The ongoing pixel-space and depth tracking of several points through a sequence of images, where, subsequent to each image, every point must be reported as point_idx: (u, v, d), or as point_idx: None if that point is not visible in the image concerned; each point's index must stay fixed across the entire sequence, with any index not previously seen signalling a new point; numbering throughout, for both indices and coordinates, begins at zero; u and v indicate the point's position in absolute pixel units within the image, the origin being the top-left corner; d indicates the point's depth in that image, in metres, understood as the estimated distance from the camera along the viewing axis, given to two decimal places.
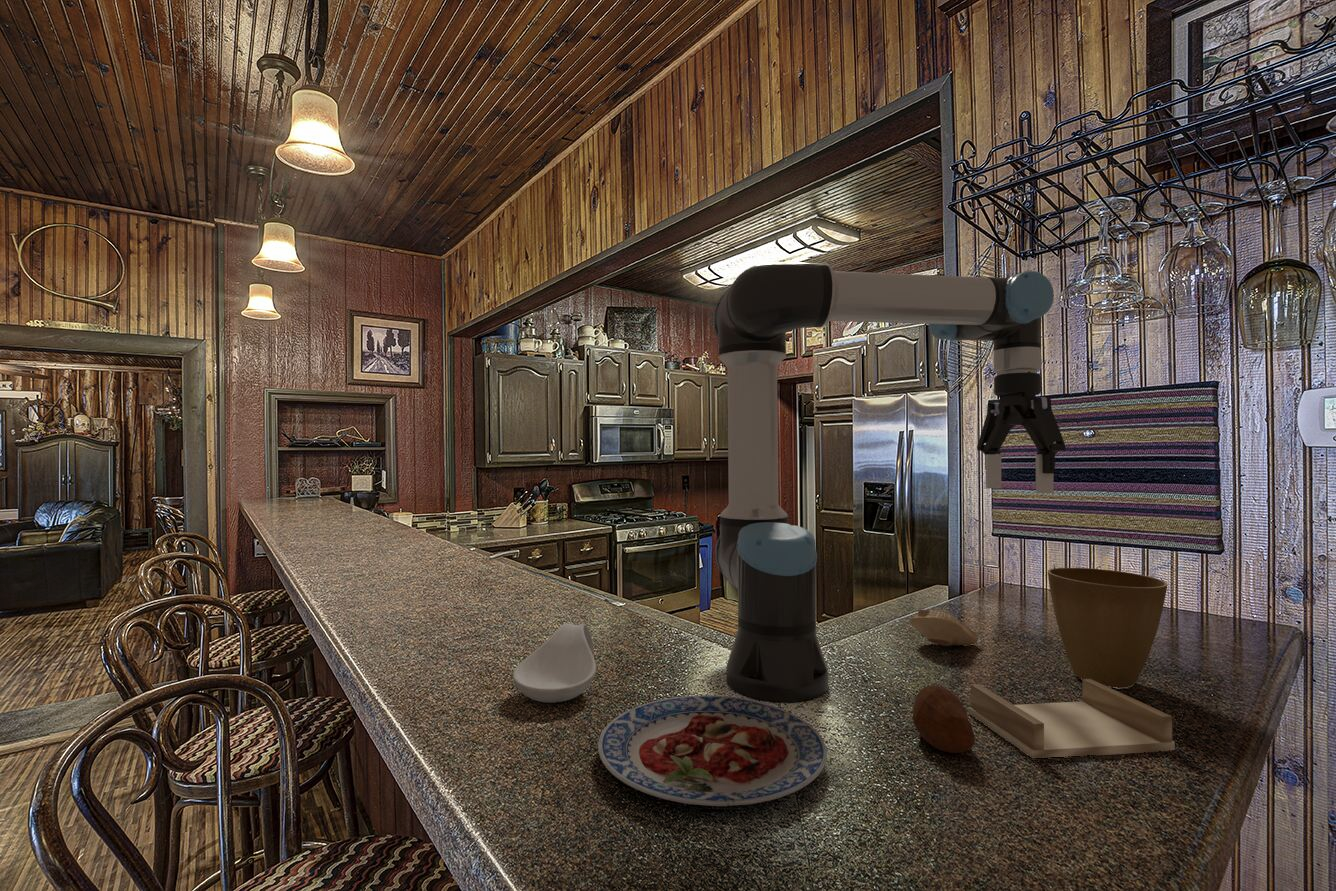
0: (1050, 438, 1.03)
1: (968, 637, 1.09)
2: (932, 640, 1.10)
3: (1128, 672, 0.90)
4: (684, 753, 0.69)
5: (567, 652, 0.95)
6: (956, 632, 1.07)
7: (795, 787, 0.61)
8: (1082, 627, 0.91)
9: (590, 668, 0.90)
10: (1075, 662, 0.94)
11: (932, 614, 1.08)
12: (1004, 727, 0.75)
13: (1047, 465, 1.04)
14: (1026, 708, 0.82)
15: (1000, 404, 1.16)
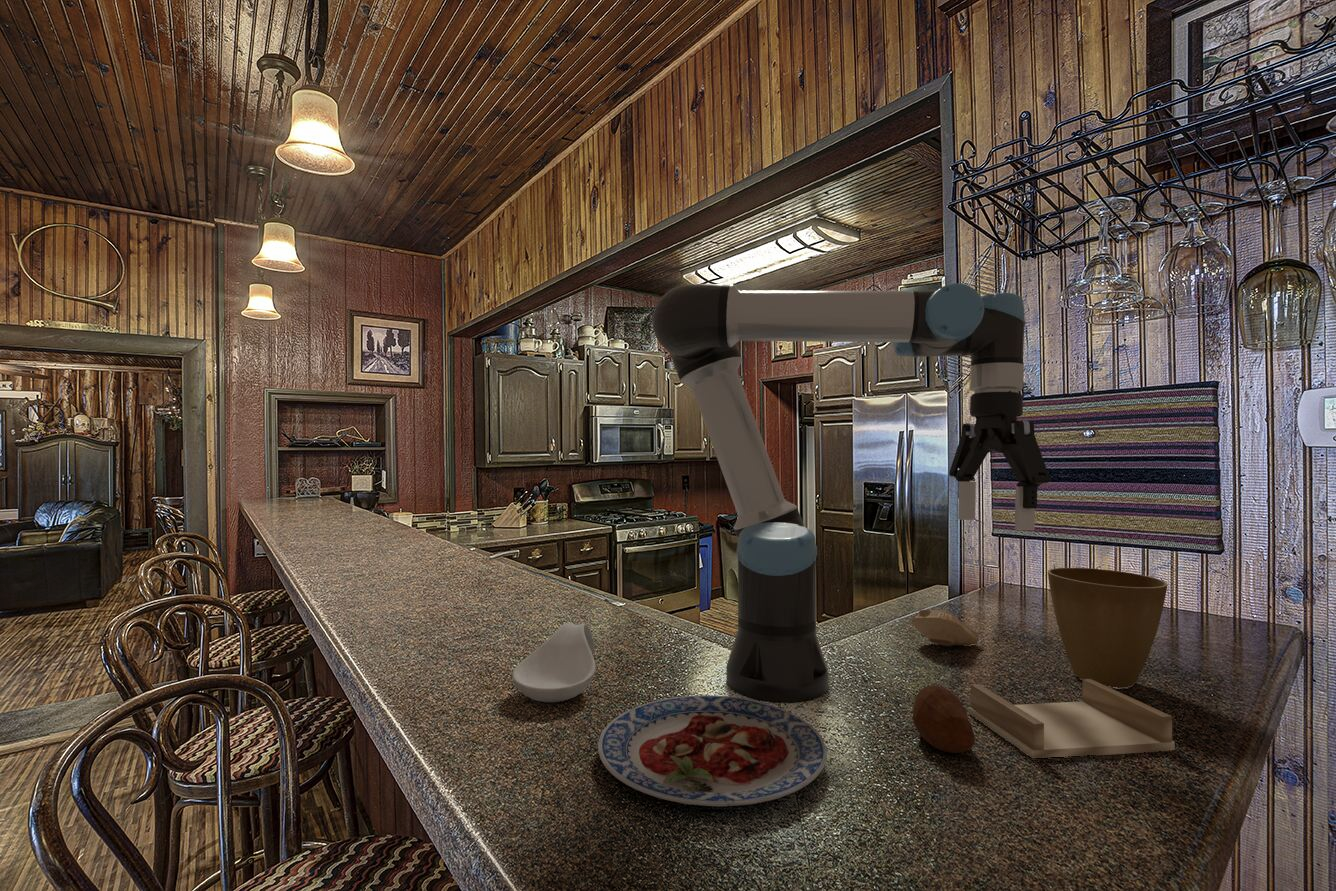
0: (1033, 468, 0.90)
1: (969, 637, 1.09)
2: (933, 640, 1.10)
3: (1128, 672, 0.90)
4: (684, 753, 0.69)
5: (567, 652, 0.95)
6: (957, 632, 1.07)
7: (795, 787, 0.61)
8: (1083, 627, 0.91)
9: (589, 668, 0.90)
10: (1075, 662, 0.94)
11: (934, 614, 1.08)
12: (1004, 727, 0.75)
13: (1028, 499, 0.91)
14: (1026, 708, 0.82)
15: (976, 426, 1.02)
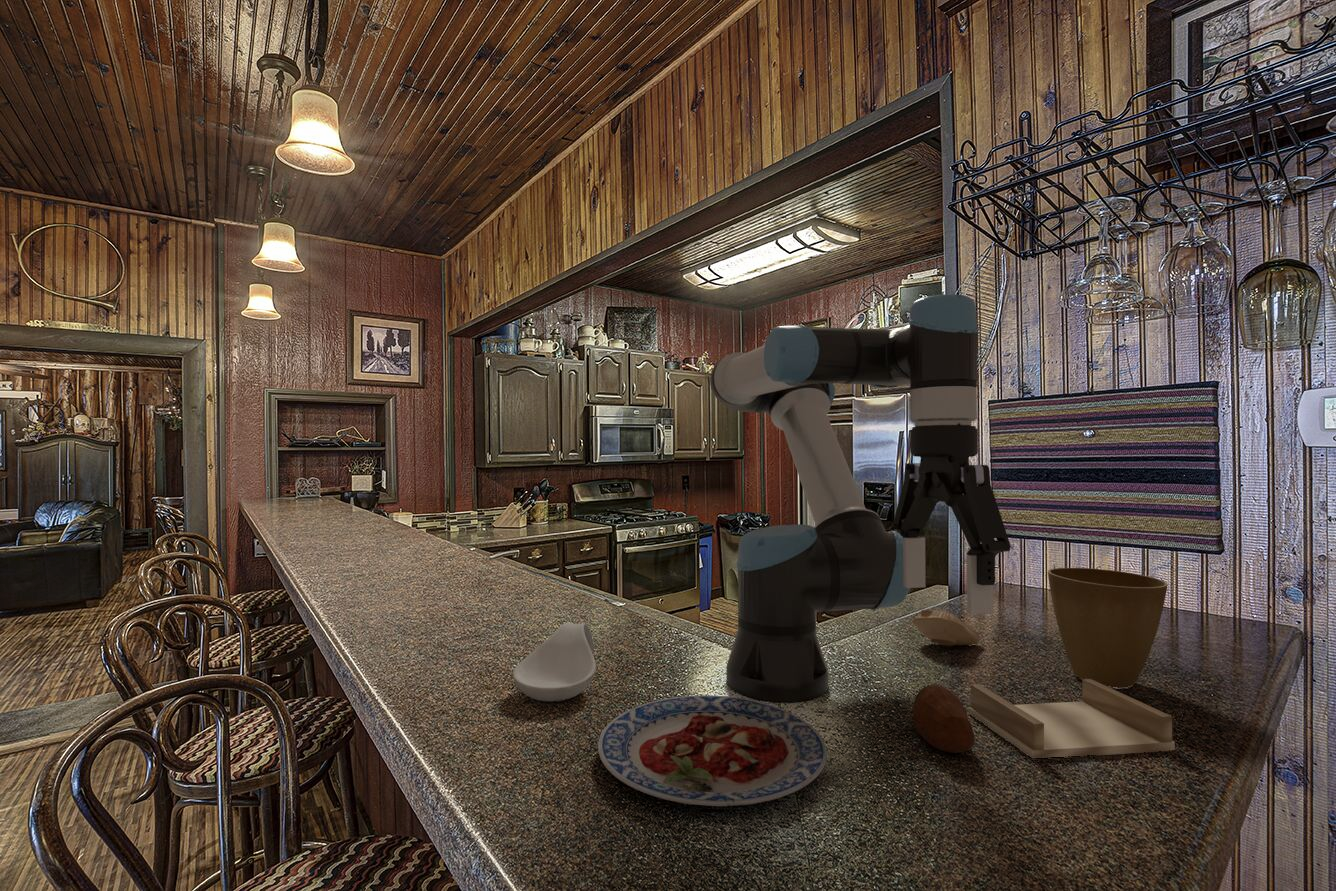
0: (987, 532, 0.66)
1: (970, 637, 1.09)
2: (935, 640, 1.10)
3: (1128, 672, 0.90)
4: (684, 753, 0.69)
5: (567, 651, 0.96)
6: (959, 632, 1.07)
7: (795, 786, 0.61)
8: (1083, 627, 0.91)
9: (590, 667, 0.91)
10: (1075, 662, 0.94)
11: (935, 614, 1.08)
12: (1004, 727, 0.75)
13: (983, 573, 0.67)
14: (1026, 708, 0.82)
15: (921, 468, 0.78)
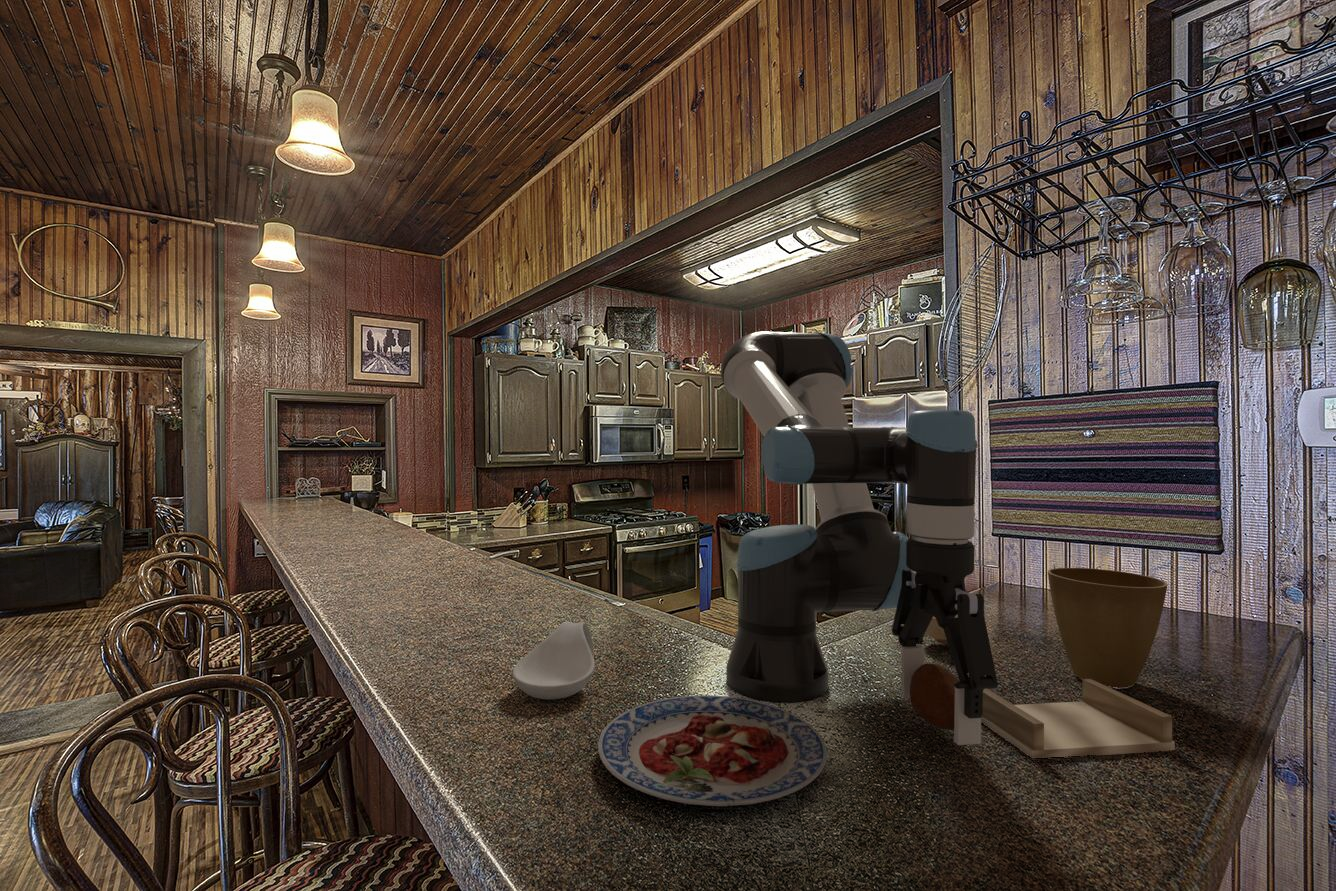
0: (975, 670, 0.66)
1: None
2: (939, 641, 1.10)
3: (1128, 672, 0.90)
4: (684, 753, 0.69)
5: (566, 650, 0.96)
6: None
7: (795, 786, 0.61)
8: (1082, 627, 0.91)
9: (589, 665, 0.91)
10: (1075, 662, 0.94)
11: None
12: (1004, 727, 0.75)
13: (970, 706, 0.67)
14: (1026, 708, 0.82)
15: (917, 577, 0.78)
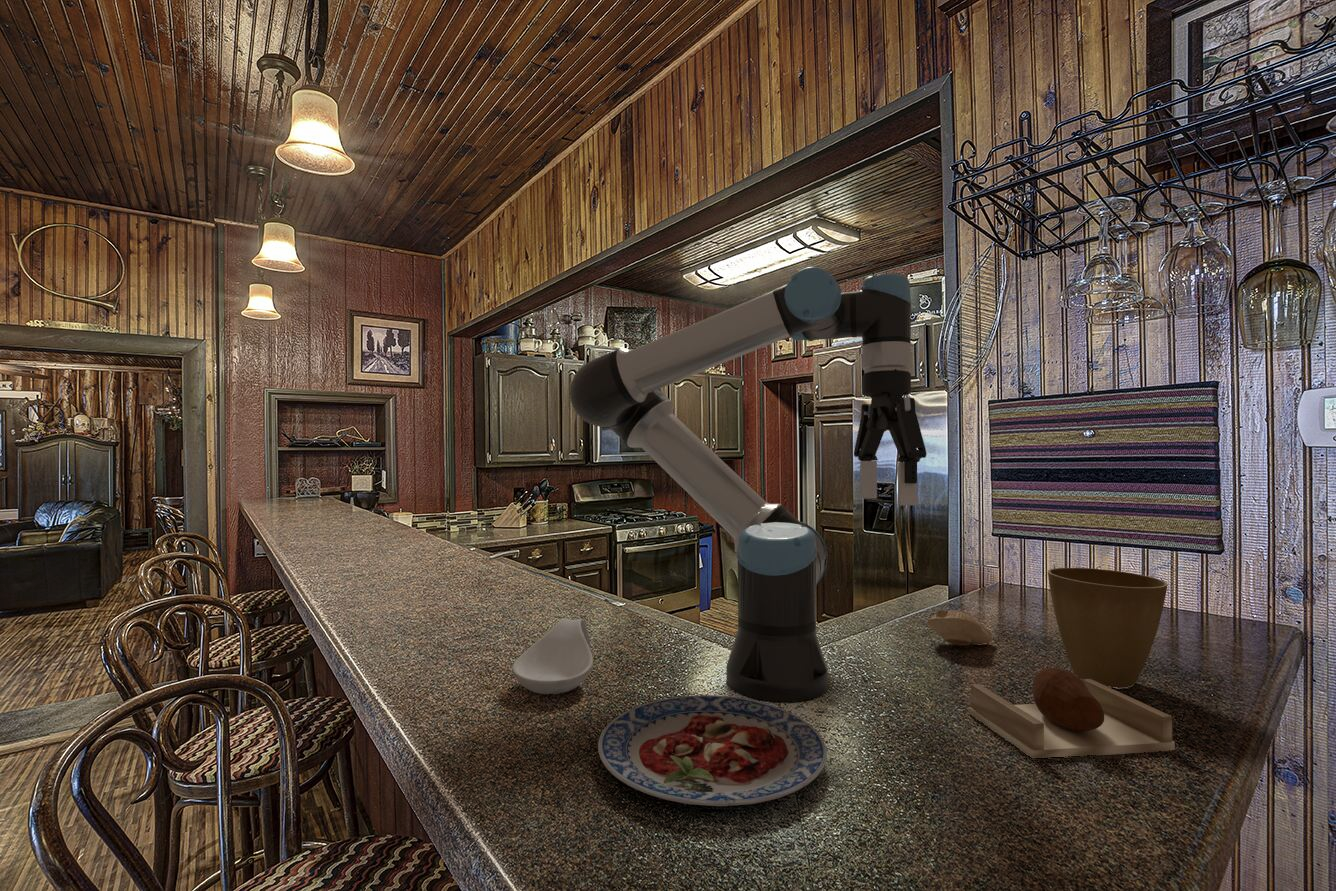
0: (909, 444, 0.92)
1: (984, 636, 1.09)
2: (950, 641, 1.10)
3: (1128, 672, 0.90)
4: (684, 753, 0.69)
5: (565, 646, 0.98)
6: (975, 632, 1.07)
7: (796, 786, 0.61)
8: (1082, 627, 0.91)
9: (587, 661, 0.93)
10: (1075, 662, 0.94)
11: (952, 614, 1.08)
12: (1004, 727, 0.75)
13: (908, 474, 0.93)
14: (1026, 708, 0.82)
15: (871, 405, 1.04)
